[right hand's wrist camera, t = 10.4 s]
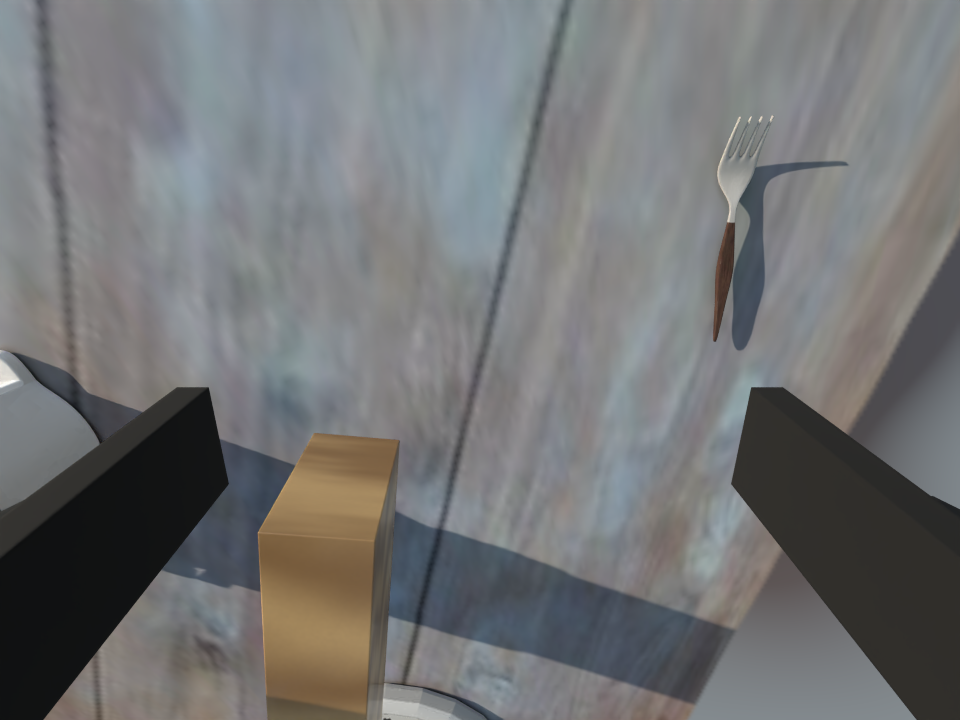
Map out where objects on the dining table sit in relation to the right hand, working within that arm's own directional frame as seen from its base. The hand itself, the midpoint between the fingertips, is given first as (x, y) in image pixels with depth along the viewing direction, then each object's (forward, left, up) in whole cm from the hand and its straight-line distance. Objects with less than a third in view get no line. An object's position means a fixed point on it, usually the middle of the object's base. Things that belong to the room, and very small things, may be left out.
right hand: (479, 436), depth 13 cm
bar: (+13, +18, -14) cm, 26 cm away
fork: (-18, +4, -28) cm, 33 cm away
